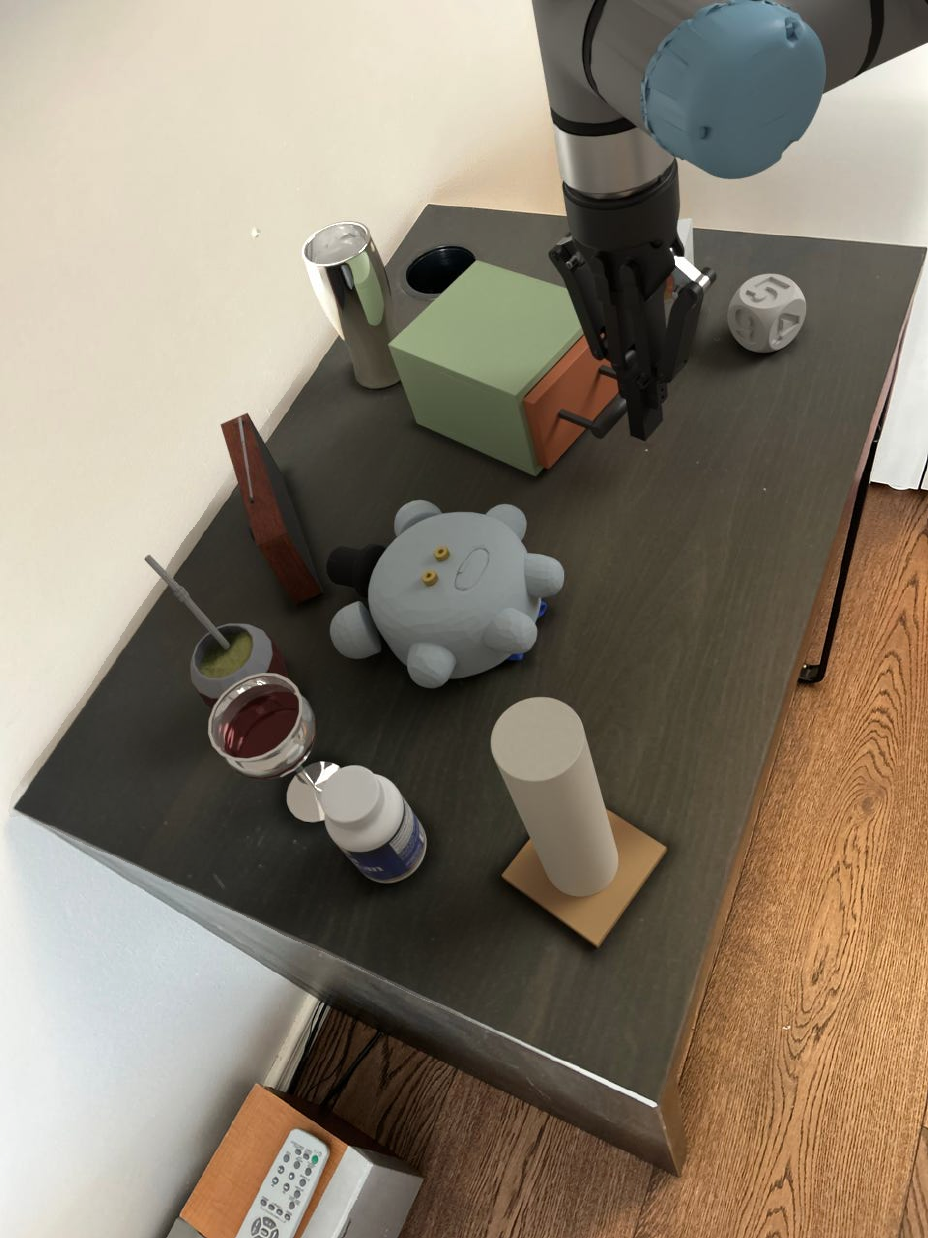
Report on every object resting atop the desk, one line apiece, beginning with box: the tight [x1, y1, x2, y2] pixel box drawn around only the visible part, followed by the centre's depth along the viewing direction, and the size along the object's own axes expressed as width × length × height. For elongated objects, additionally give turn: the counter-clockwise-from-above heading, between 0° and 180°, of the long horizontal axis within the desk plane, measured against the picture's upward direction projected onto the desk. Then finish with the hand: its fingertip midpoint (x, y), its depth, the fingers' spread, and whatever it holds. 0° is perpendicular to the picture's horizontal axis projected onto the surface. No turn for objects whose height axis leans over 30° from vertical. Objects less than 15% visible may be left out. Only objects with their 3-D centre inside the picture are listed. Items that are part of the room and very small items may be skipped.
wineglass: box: [207, 673, 342, 823], centre depth 69 cm, size 7×7×12 cm
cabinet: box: [388, 259, 584, 477], centre depth 89 cm, size 15×13×10 cm
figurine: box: [325, 499, 565, 689], centre depth 78 cm, size 17×8×20 cm
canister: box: [490, 696, 618, 897], centre depth 58 cm, size 5×5×18 cm
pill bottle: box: [320, 764, 427, 884], centre depth 66 cm, size 5×5×10 cm
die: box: [726, 273, 807, 354], centre depth 88 cm, size 5×5×5 cm
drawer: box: [523, 333, 627, 470], centre depth 87 cm, size 18×12×8 cm, turn 50°
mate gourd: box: [143, 554, 289, 710], centre depth 74 cm, size 8×8×15 cm
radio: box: [220, 412, 324, 606], centre depth 83 cm, size 19×3×15 cm, turn 20°
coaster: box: [501, 807, 668, 948], centre depth 66 cm, size 8×8×1 cm
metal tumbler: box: [301, 220, 401, 390], centre depth 94 cm, size 7×7×15 cm
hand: (646, 427), depth 82 cm, fingers closed
